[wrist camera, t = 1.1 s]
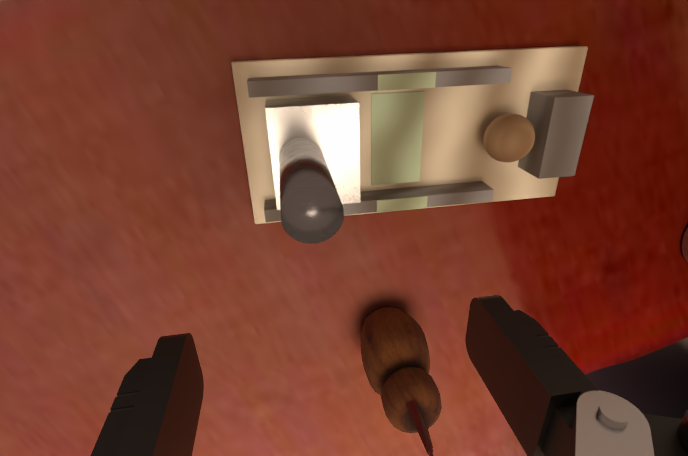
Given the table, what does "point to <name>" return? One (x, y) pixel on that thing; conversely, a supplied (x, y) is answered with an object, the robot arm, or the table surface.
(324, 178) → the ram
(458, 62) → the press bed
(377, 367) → the wooden figurine
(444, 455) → the table surface
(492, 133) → the walnut
